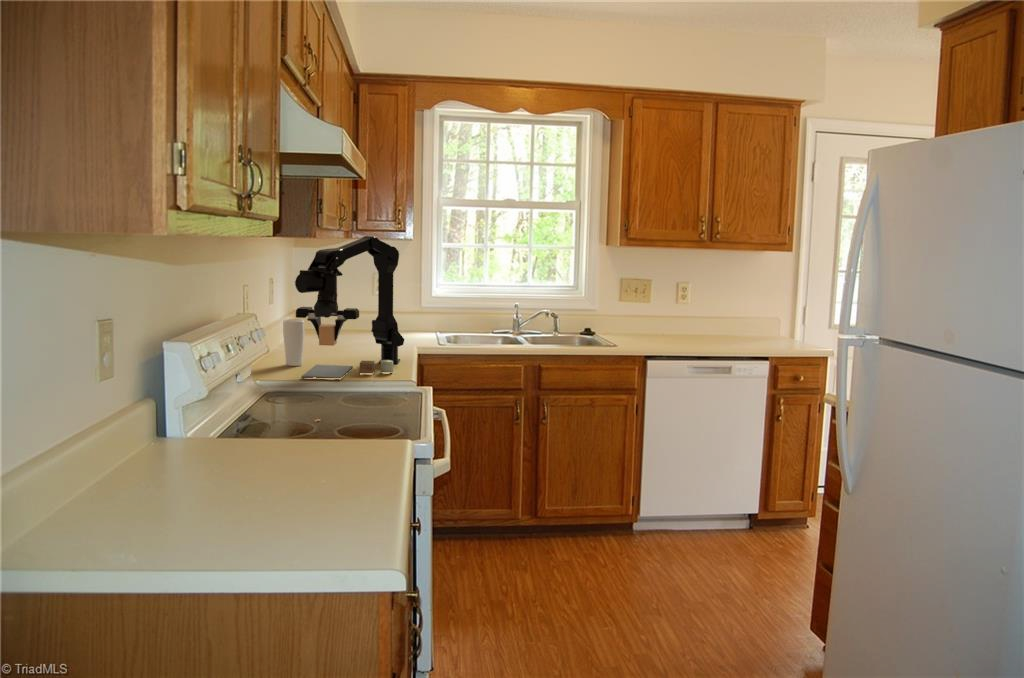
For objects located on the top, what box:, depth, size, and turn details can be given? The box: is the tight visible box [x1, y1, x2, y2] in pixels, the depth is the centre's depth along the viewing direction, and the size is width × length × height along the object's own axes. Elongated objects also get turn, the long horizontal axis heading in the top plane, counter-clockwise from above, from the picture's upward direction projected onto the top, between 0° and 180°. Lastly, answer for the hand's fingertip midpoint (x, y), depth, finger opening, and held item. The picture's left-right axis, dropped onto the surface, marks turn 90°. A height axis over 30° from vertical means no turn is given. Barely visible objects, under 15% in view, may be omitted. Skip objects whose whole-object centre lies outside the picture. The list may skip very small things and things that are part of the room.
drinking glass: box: [282, 318, 305, 367], centre depth 261 cm, size 7×7×15 cm
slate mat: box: [300, 364, 354, 378], centre depth 250 cm, size 18×12×1 cm, turn 0°
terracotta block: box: [318, 323, 338, 347], centre depth 248 cm, size 4×4×6 cm
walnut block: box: [359, 360, 375, 374], centre depth 252 cm, size 4×4×4 cm
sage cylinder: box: [380, 360, 394, 373], centre depth 254 cm, size 4×4×4 cm
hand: (327, 340), depth 248 cm, fingers closed on terracotta block, 4 cm apart
